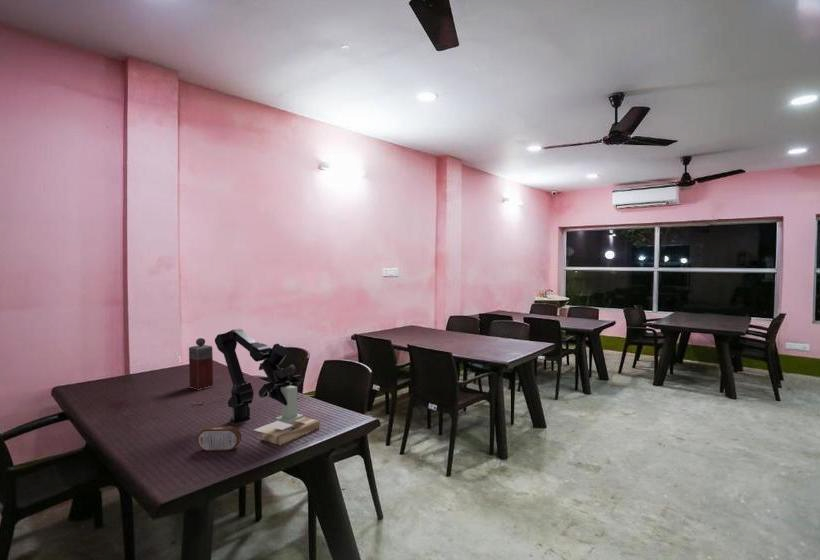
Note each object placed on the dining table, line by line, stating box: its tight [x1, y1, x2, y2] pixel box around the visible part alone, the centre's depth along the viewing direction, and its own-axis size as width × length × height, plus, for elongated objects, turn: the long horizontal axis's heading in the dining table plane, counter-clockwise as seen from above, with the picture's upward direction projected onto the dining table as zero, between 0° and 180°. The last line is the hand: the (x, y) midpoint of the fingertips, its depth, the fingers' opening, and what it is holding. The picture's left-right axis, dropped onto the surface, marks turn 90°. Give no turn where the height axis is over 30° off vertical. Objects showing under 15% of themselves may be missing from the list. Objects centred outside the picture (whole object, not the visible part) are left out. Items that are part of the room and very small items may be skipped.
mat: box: [253, 420, 293, 434], centre depth 170 cm, size 10×12×1 cm
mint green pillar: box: [275, 386, 305, 424], centre depth 164 cm, size 7×8×12 cm
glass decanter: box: [188, 337, 214, 389], centre depth 234 cm, size 9×11×28 cm
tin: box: [196, 425, 242, 452], centre depth 150 cm, size 15×3×8 cm, turn 92°
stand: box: [261, 416, 321, 446], centre depth 164 cm, size 10×20×3 cm, turn 147°
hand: (291, 402), depth 164 cm, fingers closed on mint green pillar, 5 cm apart
